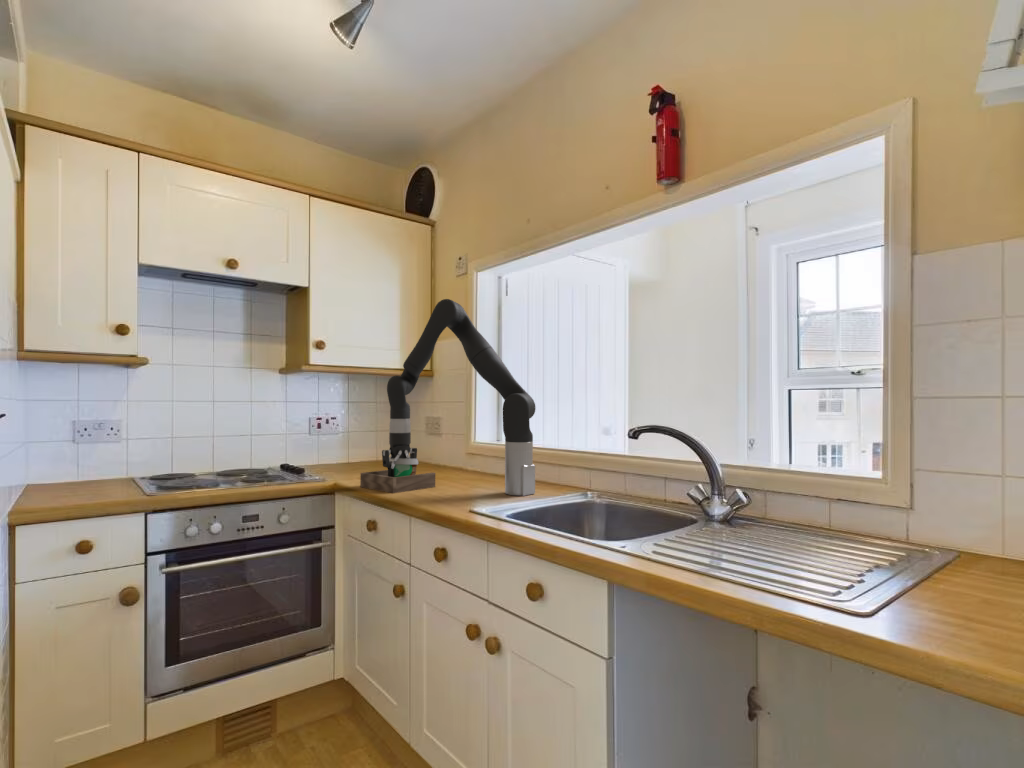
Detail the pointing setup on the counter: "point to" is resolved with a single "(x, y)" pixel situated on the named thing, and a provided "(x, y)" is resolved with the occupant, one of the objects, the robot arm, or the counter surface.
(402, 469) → the food container
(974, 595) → the counter surface
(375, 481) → the walnut box
